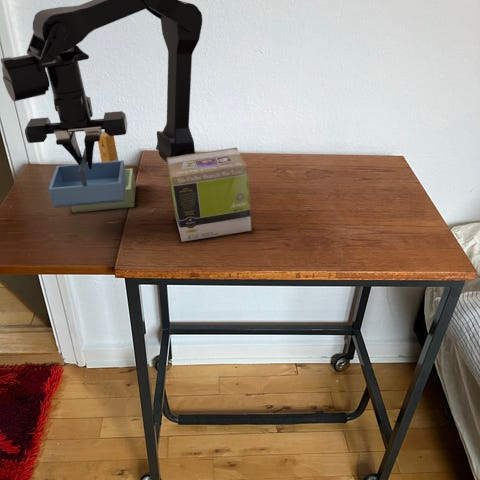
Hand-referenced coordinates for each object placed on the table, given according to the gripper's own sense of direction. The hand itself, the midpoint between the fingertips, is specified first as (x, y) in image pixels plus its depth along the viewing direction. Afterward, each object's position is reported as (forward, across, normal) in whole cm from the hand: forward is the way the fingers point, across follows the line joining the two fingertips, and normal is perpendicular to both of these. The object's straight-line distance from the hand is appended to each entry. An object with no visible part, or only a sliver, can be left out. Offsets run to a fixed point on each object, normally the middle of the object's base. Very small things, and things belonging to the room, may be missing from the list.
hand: (87, 168), depth 109 cm
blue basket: (+5, 0, +1) cm, 5 cm away
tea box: (+13, -24, +5) cm, 28 cm away
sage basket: (+13, 0, -12) cm, 18 cm away
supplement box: (+13, -1, -27) cm, 30 cm away
